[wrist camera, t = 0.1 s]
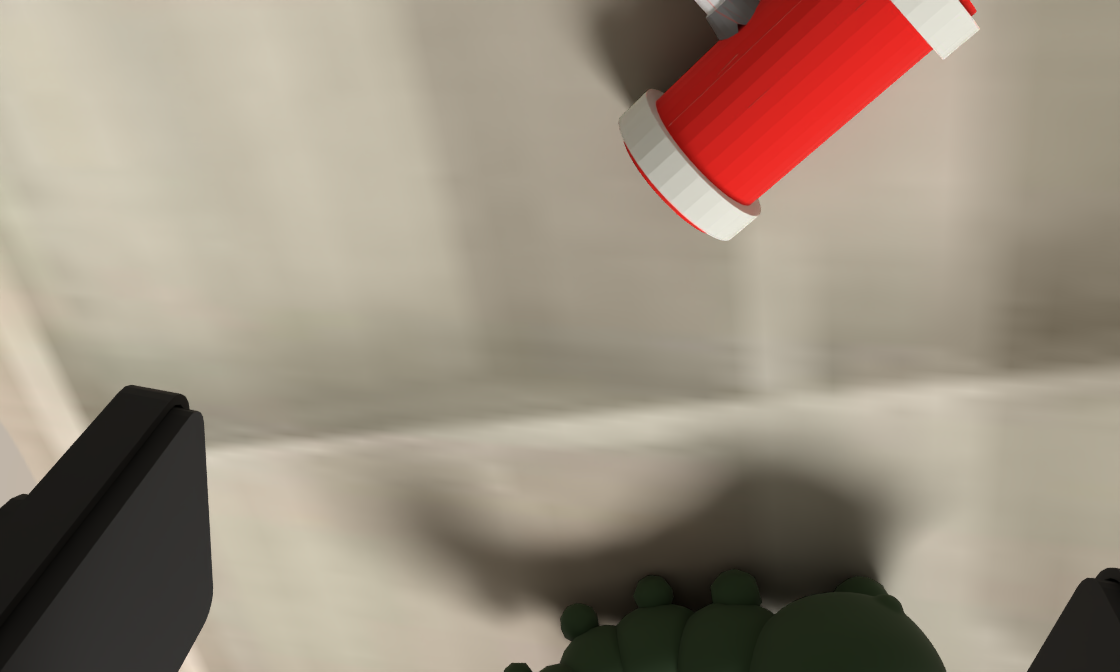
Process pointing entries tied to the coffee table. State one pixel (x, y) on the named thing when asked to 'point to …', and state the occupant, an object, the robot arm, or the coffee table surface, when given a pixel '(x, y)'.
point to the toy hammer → (775, 95)
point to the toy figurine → (748, 633)
